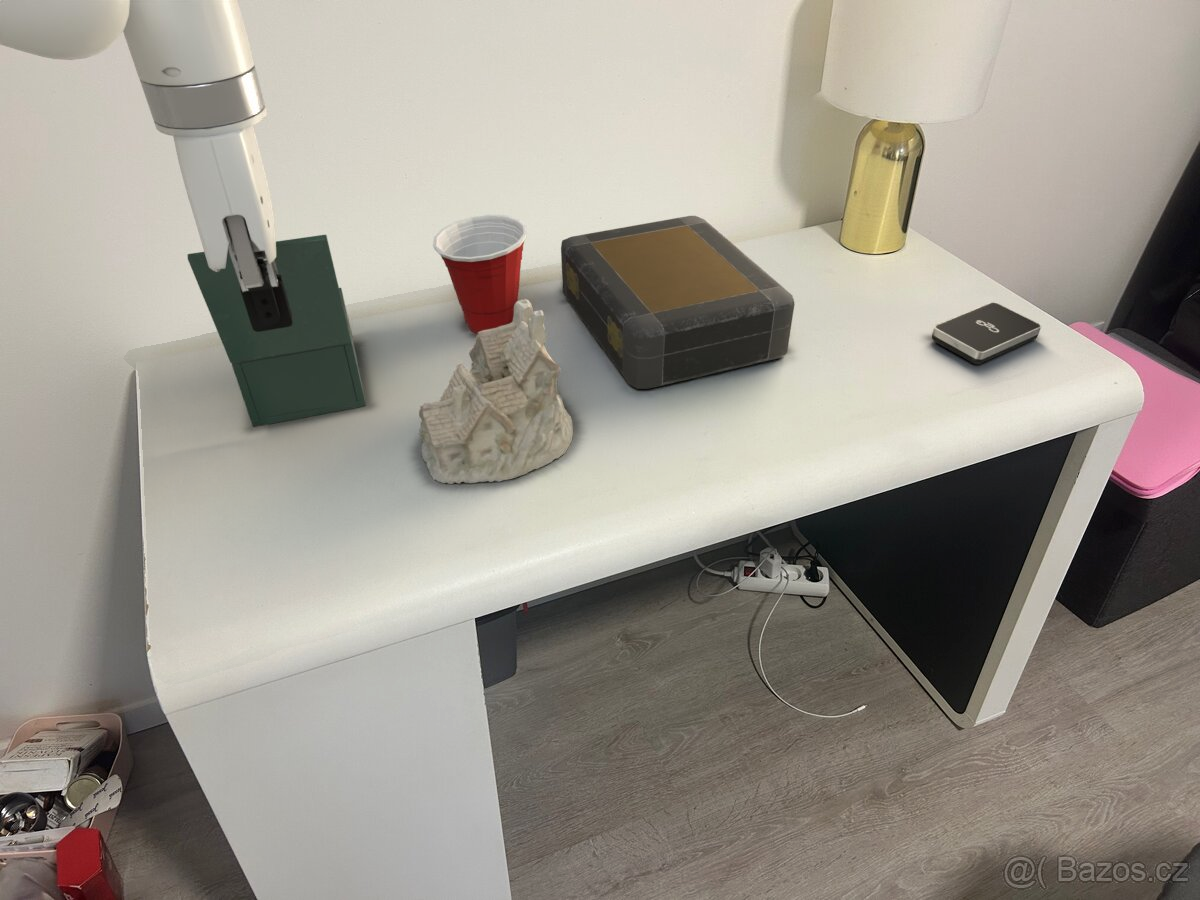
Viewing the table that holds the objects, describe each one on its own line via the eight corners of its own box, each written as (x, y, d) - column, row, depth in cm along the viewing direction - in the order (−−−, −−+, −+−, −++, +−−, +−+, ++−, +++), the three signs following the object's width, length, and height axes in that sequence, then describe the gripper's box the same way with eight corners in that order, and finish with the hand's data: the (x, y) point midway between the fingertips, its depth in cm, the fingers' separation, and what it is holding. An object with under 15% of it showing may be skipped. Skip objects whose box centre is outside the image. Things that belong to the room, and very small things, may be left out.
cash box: (797, 357, 97) (806, 297, 92) (634, 395, 92) (635, 334, 87) (699, 264, 115) (703, 210, 110) (558, 291, 110) (556, 236, 105)
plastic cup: (438, 309, 106) (424, 219, 99) (522, 296, 109) (515, 207, 101) (453, 354, 98) (439, 260, 91) (543, 339, 101) (537, 245, 93)
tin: (251, 364, 97) (232, 304, 92) (354, 346, 100) (341, 287, 95) (253, 427, 88) (231, 364, 83) (366, 405, 91) (352, 343, 86)
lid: (187, 253, 72) (187, 259, 72) (326, 233, 75) (327, 239, 75) (230, 358, 83) (230, 363, 83) (350, 337, 86) (351, 342, 85)
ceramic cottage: (552, 373, 95) (537, 253, 85) (589, 469, 83) (576, 343, 73) (413, 402, 92) (381, 282, 82) (430, 505, 80) (395, 380, 70)
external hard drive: (1038, 340, 99) (1043, 325, 98) (975, 369, 95) (980, 354, 94) (989, 315, 104) (993, 301, 103) (926, 341, 99) (930, 326, 98)
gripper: (157, 75, 64) (228, 291, 76) (138, 139, 53) (224, 381, 65) (260, 65, 66) (314, 277, 78) (263, 125, 55) (325, 363, 66)
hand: (273, 324), depth 71 cm, fingers closed
